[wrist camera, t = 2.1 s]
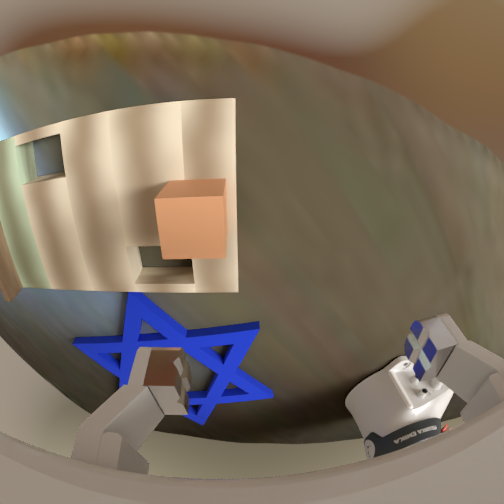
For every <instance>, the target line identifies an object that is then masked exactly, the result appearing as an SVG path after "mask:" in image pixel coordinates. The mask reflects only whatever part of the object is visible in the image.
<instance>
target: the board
mask: <svg viewBox="0 0 504 504" xmlns="http://www.w3.org/2000/svg"><path fill="white" fill-rule="evenodd" d="M56 134H60V137H61V146H62V154H63V162H64V169H65V172H60V173H54V174H49V175H44V176H39V177H38V175H37V169H36V162H35V155H34V148H33V141H34V140H37V139H41V138H44V137H48V136H52V135H56ZM222 178H226V195H227V227H228V233H227V246H226V258H218V259H192V265H193V267H143V266H142V261H141V256H140V251H139V246H161V245H160V239H159V232H158V225H157V217H156V210H155V201H154V198H155V197H156V196H157V195H158V194H159V192H160V191H161V190H162V189H163V188H164V186H165V185H166V184H167V183H168V182H169V181H174V180H194V179H222ZM23 287H29V288H45V289H64V290H86V291H116V292H238V248H237V195H236V99H235V98H226V99H203V100H188V101H177V102H167V103H158V104H150V105H142V106H136V107H129V108H123V109H117V110H112V111H106V112H101V113H96V114H92V115H87V116H83V117H78V118H74V119H70V120H66V121H62V122H59V123H55V124H51V125H48V126H44V127H41V128H38V129H35V130H31V131H28V132H25V133H22V134H19V135H17V136H14V137H11V138H8V139H5V140H3V141H0V289H1V291H2V294H3V296H4V298H5V300H6V301H7V302H11V301H12V300H13V299H14V298H15V296H16V295H17V294H18V293H19V292H20V290H21V289H22V288H23Z"/></svg>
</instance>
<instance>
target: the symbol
mask: <svg viewBox="0 0 504 504" xmlns="http://www.w3.org/2000/svg"><path fill="white" fill-rule="evenodd" d="M142 319H143V320H144V321H145V322H147V323H148V324H149V325H150V326H152V327H153V328H154V329H156V330H157V331H158V332H159V333H150V334H140V330H141V324H142ZM259 329H260V327H259V321H257V322H250V323H243V324H236V325H228V326H220V327H212V328H203V329H194V330H186V329H185V328H184V327H183V326H181V325H180V324H179V323H177V322H176V321H175V320H174V319H173V318H171V317H170V316H169V315H168V314H166V313H165V312H164V311H163V310H161V309H160V308H159V307H158V306H157V305H155V304H154V303H153V302H152V301H151V300H150V299H148V298H147V297H146V296H145V295H144V294H143V293H141V292H128V299H127V306H126V314H125V322H124V331H123V335H120V336H100V337H76V338H75V340H74V342H73V345H75V346H76V347H77V348H78V349H80V350H81V351H82V352H84V353H85V354H86V355H88V356H89V357H90V358H92V359H93V360H94V361H96V362H97V363H98V364H100V365H101V366H103V367H104V368H105V369H107V370H108V371H110V372H111V373H113V374H114V375H116V376H117V377H119V378H120V384H119V388H121V387H122V386H123V385H128V381H129V377H130V373H131V370H132V366H133V363H134V359H135V356H136V352H137V350H138V349H139V347H177V348H183V349H184V351H185V352H186V353H188V354H189V355H191V356H192V357H193V358H195V359H196V360H198V361H199V362H201V363H202V364H204V365H205V366H207V367H208V368H209V369H211V370H212V371H214V372H215V375H214V377H213V379H212V381H211V383H210V385H209V387H208V389H207V391H193V392H187V394H188V396H189V399H190V400H189V410H188V415H183V416H185V417H187V418H189V419H191V420H193V421H195V422H197V423H199V424H201V425H204V423H205V422H206V420H207V418H208V417H209V415H210V413H211V412H212V410H213V409H214V407H215V405H216V404H217V403H230V402H241V401H251V400H259V399H267V398H273V391H272V390H271V389H269V388H268V387H266V386H265V385H263V384H262V383H260V382H258V381H257V380H255V379H254V378H252V377H251V376H250V375H248V374H247V373H245V372H244V371H242V370H241V369H239V368H238V366H239V365H240V363H241V361H242V359H243V358H244V356H245V354H246V352H247V351H248V349H249V347H250V345H251V344H252V342H253V340H254V338H255V336H256V335H257V333H258V331H259ZM221 345H230V346H229V348H228V350H227V352H226V354H225V356H224V357H222V356H221V355H220V354H218V353H217V352H215V351H214V350H213V349H211V348H210V347H212V346H221ZM109 353H121V362H120V361H118V360H117V359H116V358H114V357H113V356H111V355H110V354H109ZM229 382H231V383H232V384H234V385H236V386H237V387H239V388H234V389H225V388H226V387H227V385H228V383H229ZM190 405H199V407H198V408H197V409H196V408H194V407H192V406H190Z"/></svg>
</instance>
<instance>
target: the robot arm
mask: <svg viewBox="0 0 504 504" xmlns="http://www.w3.org/2000/svg"><path fill="white" fill-rule="evenodd" d="M410 329H411V331H412V332H411V333H410V334H409V335H408V336H407V338H406V341H405V354H406V356H400V357H398V358H396V359H395V360H393V361H392V362H391V363H390V364H389V365H387V366H386V367H385V368H384V369H382V370H381V371H379V372H377V373H375V374H373V375H371V376H370V377H368V378H366V379H365V380H363V381H362V382H361V383H359V384H358V385H357V386H356V387H355V388H354V389H352V391H351V392H350V393H349V394H348V396H347V398H346V400H345V406H346V408H347V409H348V410H349V412H350V413H351V414H352V416H353V418H354V419H355V421H356V423H357V425H358V427H359V429H360V431H361V434H362V436H363V438H364V446H365V452H366V456H367V460H364V461H360V462H356V463H352V464H348V465H343V466H339V467H334V468H329V469H324V470H319V471H313V472H307V473H300V474H293V475H285V476H275V477H264V478H250V479H190V478H176V477H165V476H155V475H148V470H149V463H148V462H147V460H146V459H144V458H143V457H142V456H141V455H140V454H139V453H138V452H137V451H138V449H139V448H140V447H141V446H142V444H143V443H144V442H145V440H146V439H147V438H148V437H149V435H150V434H151V433H152V431H153V430H154V429H155V428H156V426H157V425H158V424H159V422H160V421H161V420H162V419H163V417H164V415H188V410H189V400H190V399H189V396H188V394H187V391H188V390H189V389H190V388H191V371H190V366H189V363H188V362H187V361H185V355H186V354H185V352H184V349H183V348H177V347H139V349H138V350H137V352H136V356H135V359H134V363H133V366H132V370H131V373H130V377H129V381H128V385H123V386H122V387H121V388H119V389H118V390H117V391H116V392H115V393H114V394H113V395H112V396H111V397H110V398H109V399H108V400H106V401H105V402H104V403H103V404H102V405H101V406H100V407H99V408H98V409H97V410H96V411H95V412H93V413H92V414H91V415H90V416H89V417H88V418H87V419H86V420H85V421H84V422H83V423H81V424H80V425H79V429H78V432H77V436H76V440H75V443H74V447H73V451H72V455H71V458H68V457H65V456H62V455H58V454H55V453H52V452H49V451H46V450H44V449H41V448H38V447H35V446H33V445H30V444H28V443H25V442H23V441H20V440H18V439H16V438H13V437H11V436H9V435H7V434H4V433H2V432H0V504H504V359H502V358H501V357H499V356H497V355H495V354H494V353H492V352H490V351H488V350H487V349H485V348H483V347H481V346H479V345H478V344H476V343H474V342H472V341H467V339H466V338H465V337H464V335H463V334H462V332H461V331H460V329H459V328H458V327H457V325H456V324H455V323H454V321H453V320H452V318H451V317H450V316H449V315H448V314H442V315H438V316H433V317H429V318H425V319H421V320H416V321H414V322H413V323H412V326H411V328H410ZM453 393H456V394H457V395H458V396H459V397H461V398H462V399H463V400H464V401H466V402H467V403H468V404H467V405H466V406H465V407H464V408H463V410H462V411H461V416H462V418H463V421H464V423H462V424H460V425H458V426H456V427H454V428H452V429H450V430H449V428H448V429H447V430H445V429H446V427H447V425H448V424H446V425H445V426H444V427H443V428H442V429H441V420H440V418H441V417H442V415H443V413H444V411H445V409H446V407H447V405H448V403H449V401H450V399H451V397H452V395H453Z"/></svg>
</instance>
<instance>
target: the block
mask: <svg viewBox="0 0 504 504" xmlns="http://www.w3.org/2000/svg"><path fill="white" fill-rule="evenodd" d="M154 201H155V210H156V217H157V225H158V232H159V239H160V245H161V252H162V258H163V259H218V258H226V246H227V233H228V227H227V195H226V178H222V179H194V180H174V181H169V182H168V183H167V184H166V185H165V186H164V188H163V189H162V190H161V191H160V192H159V194H158V195H157V196H156V197H155V198H154Z"/></svg>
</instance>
